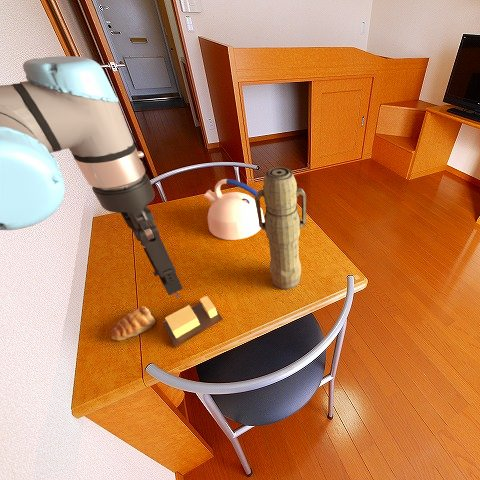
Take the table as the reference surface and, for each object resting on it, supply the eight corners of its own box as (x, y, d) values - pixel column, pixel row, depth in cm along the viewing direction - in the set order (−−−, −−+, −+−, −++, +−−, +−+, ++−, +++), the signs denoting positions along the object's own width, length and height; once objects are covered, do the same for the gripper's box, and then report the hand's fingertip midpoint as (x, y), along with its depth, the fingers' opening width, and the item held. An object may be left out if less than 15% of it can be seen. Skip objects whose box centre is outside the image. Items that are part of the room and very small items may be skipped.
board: (175, 347, 65) (174, 345, 65) (164, 324, 70) (162, 322, 69) (222, 319, 72) (221, 317, 71) (209, 300, 76) (208, 298, 75)
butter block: (176, 338, 66) (172, 331, 64) (168, 324, 69) (164, 317, 67) (200, 324, 69) (197, 317, 67) (192, 311, 72) (189, 304, 70)
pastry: (119, 349, 64) (111, 341, 62) (108, 332, 68) (100, 323, 65) (159, 323, 70) (153, 314, 68) (147, 308, 73) (141, 299, 71)
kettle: (223, 204, 112) (214, 163, 100) (272, 212, 109) (268, 170, 97) (197, 235, 97) (182, 190, 85) (252, 244, 94) (245, 199, 82)
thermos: (264, 271, 85) (249, 165, 62) (301, 264, 88) (300, 161, 65) (268, 293, 78) (253, 184, 56) (308, 285, 81) (309, 178, 58)
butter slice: (210, 318, 70) (207, 311, 69) (202, 306, 73) (199, 299, 71) (217, 314, 72) (215, 307, 70) (209, 302, 74) (206, 295, 72)
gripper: (168, 198, 38) (206, 300, 53) (129, 151, 49) (170, 246, 64) (105, 218, 34) (166, 322, 49) (78, 162, 45) (134, 261, 60)
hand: (168, 279), depth 57 cm, fingers closed on cutter, 7 cm apart
